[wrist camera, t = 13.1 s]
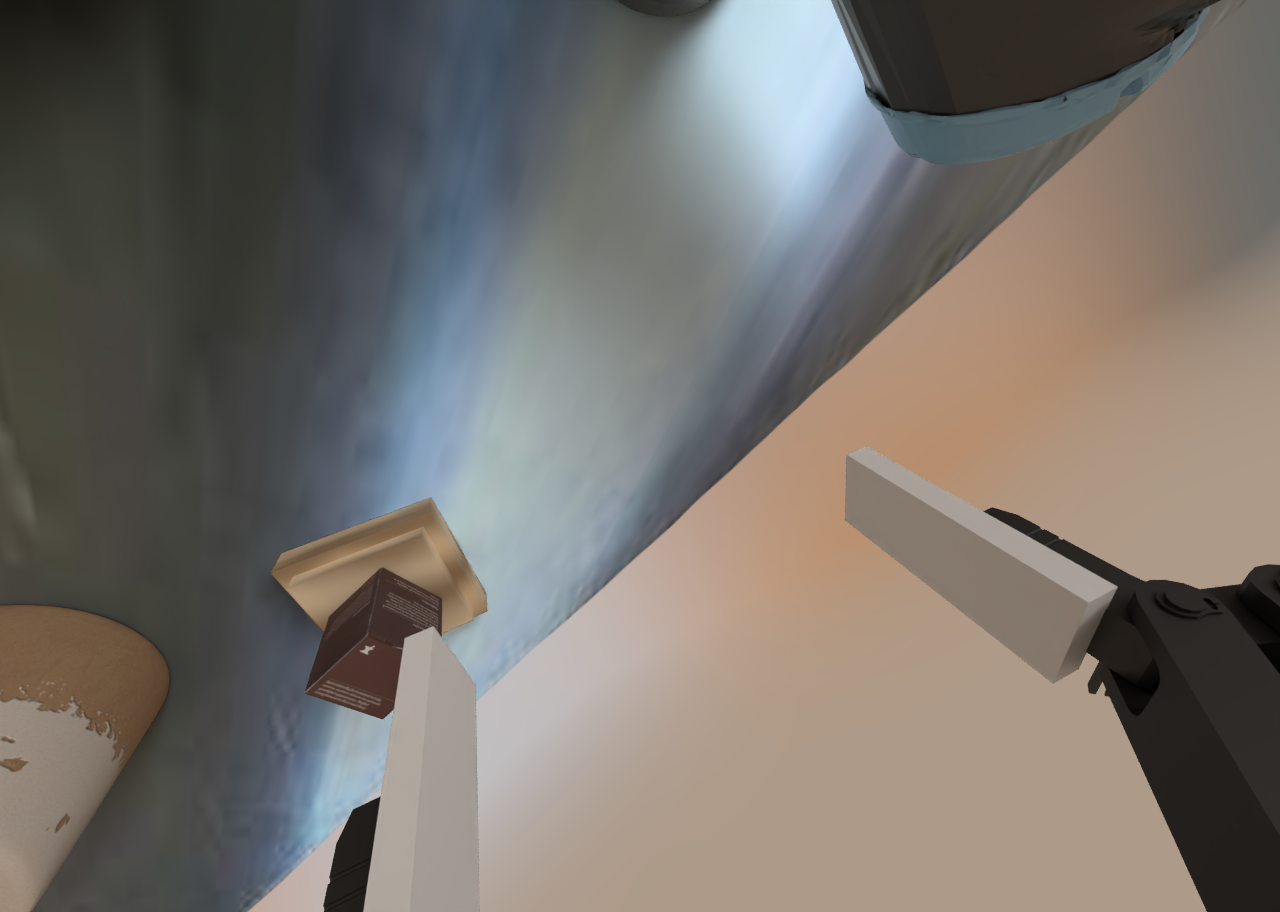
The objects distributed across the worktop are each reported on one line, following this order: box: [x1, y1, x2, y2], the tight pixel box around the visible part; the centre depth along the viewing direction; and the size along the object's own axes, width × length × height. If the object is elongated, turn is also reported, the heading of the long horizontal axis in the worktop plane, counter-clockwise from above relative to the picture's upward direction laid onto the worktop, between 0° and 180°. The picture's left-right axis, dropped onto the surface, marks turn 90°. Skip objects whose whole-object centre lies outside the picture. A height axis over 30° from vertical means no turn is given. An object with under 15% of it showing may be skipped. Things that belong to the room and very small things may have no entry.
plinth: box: [271, 498, 487, 634], centre depth 39 cm, size 12×12×4 cm
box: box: [305, 567, 442, 719], centre depth 34 cm, size 6×6×7 cm
